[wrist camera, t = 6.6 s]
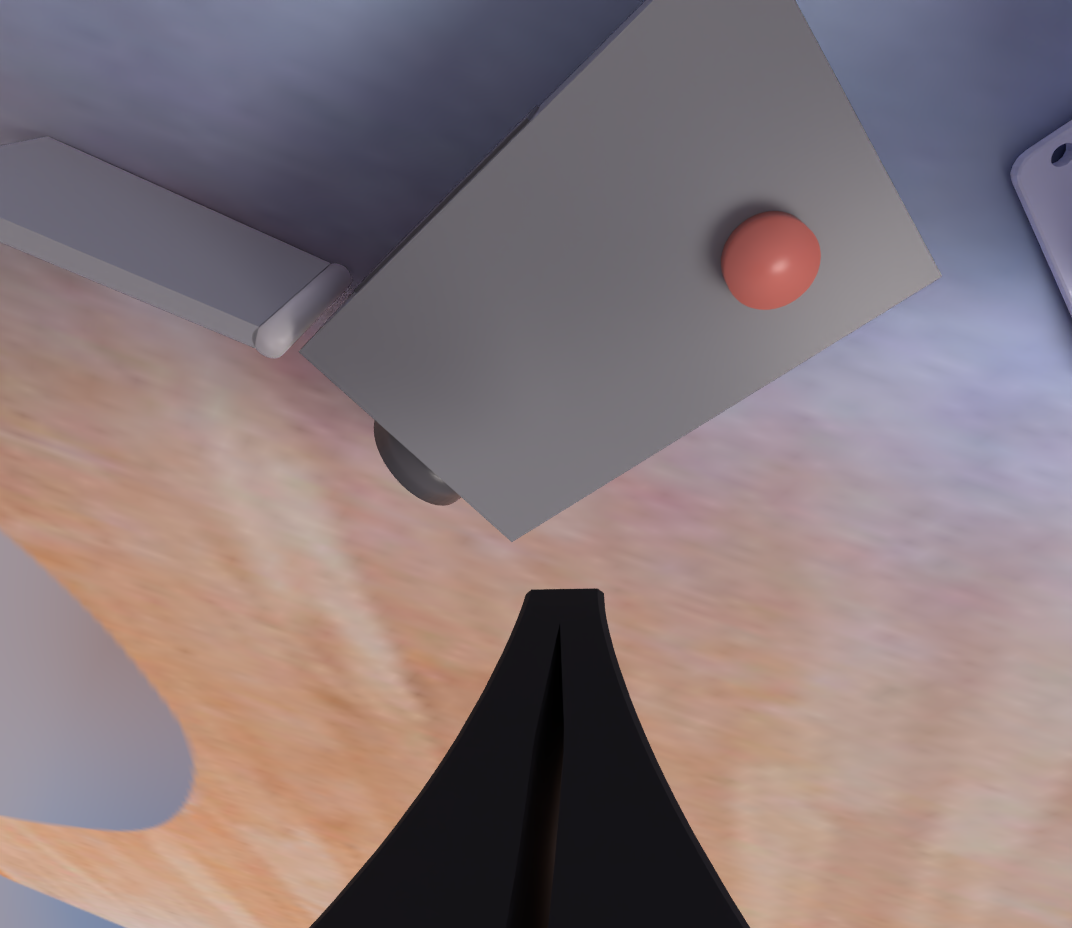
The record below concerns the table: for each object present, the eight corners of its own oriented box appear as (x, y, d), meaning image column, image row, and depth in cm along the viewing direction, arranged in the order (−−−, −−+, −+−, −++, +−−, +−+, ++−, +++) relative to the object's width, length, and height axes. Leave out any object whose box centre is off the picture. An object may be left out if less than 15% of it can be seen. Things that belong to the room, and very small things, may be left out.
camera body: (701, -61, 14) (751, -103, 9) (859, 216, 17) (956, 286, 12) (329, 311, 20) (248, 397, 15) (495, 468, 23) (470, 580, 18)
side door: (48, 175, 18) (-108, 217, 14) (47, 132, 17) (-118, 163, 13) (344, 305, 19) (279, 376, 15) (354, 270, 19) (289, 335, 15)
